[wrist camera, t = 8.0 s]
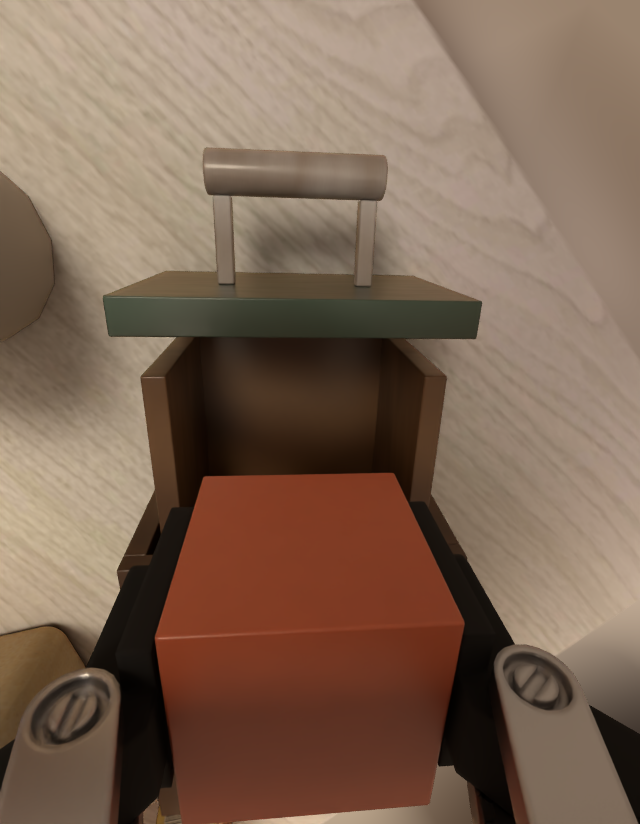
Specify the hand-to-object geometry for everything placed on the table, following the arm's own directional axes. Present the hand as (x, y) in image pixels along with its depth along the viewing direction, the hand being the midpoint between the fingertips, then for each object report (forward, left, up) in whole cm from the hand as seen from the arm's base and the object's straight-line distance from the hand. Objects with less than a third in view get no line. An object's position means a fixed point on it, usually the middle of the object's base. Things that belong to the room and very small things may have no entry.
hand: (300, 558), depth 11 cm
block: (0, 0, 0) cm, 0 cm away
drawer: (-1, 0, -13) cm, 13 cm away
